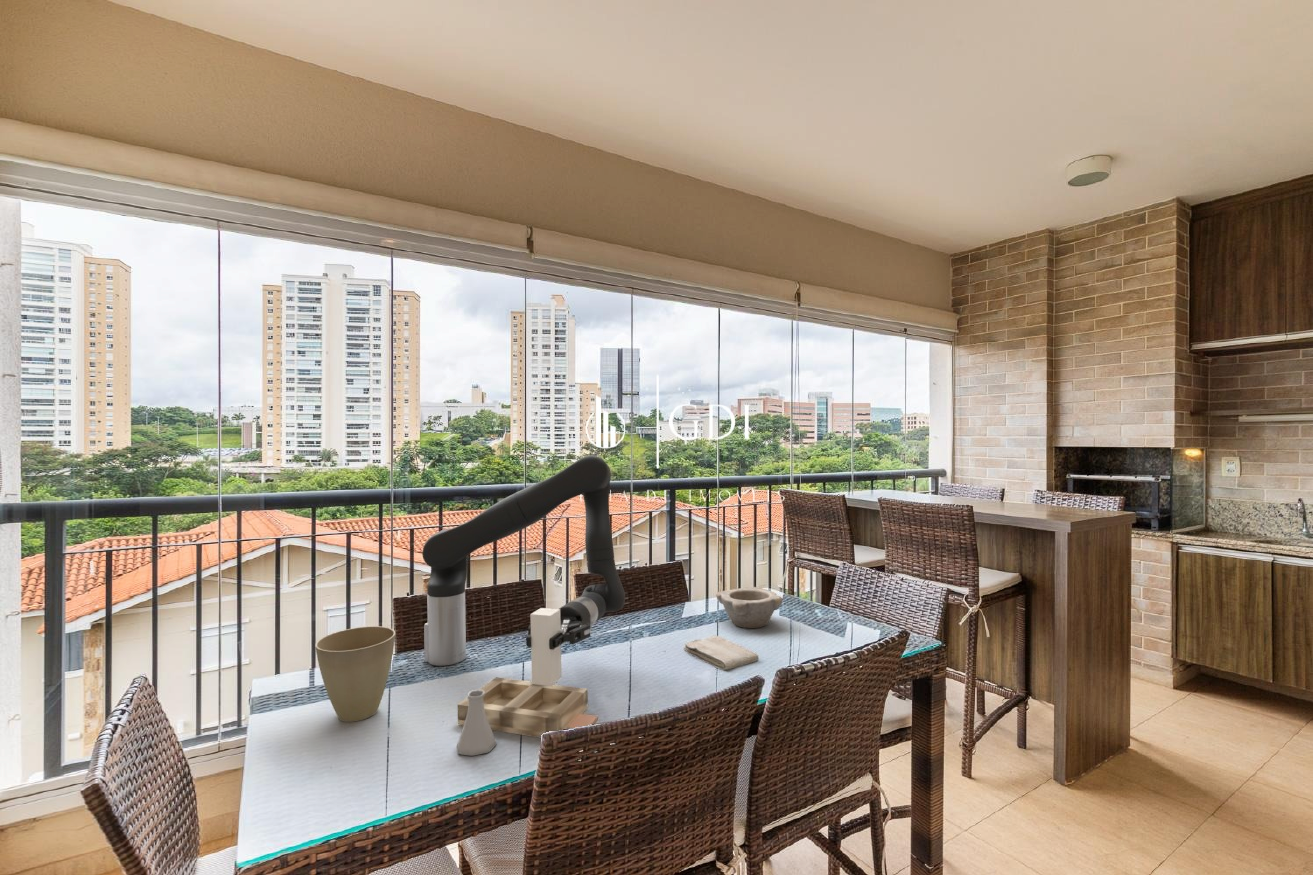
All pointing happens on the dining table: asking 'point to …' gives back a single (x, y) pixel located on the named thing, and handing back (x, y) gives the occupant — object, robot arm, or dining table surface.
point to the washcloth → (720, 652)
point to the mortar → (749, 605)
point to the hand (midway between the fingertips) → (539, 643)
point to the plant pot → (356, 669)
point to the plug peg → (545, 647)
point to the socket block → (531, 707)
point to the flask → (476, 728)
